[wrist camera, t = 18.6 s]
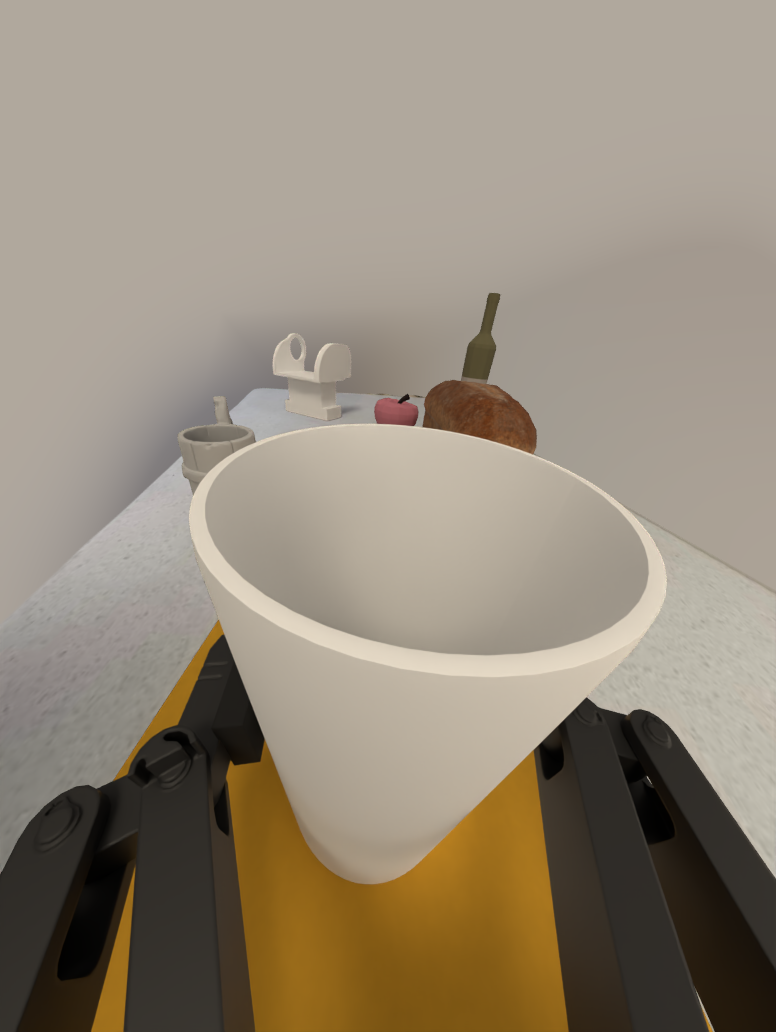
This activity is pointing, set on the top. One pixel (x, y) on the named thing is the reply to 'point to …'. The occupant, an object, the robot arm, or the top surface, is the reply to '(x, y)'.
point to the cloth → (382, 917)
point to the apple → (396, 412)
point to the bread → (480, 414)
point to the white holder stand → (313, 378)
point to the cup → (412, 620)
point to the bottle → (482, 346)
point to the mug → (211, 443)
